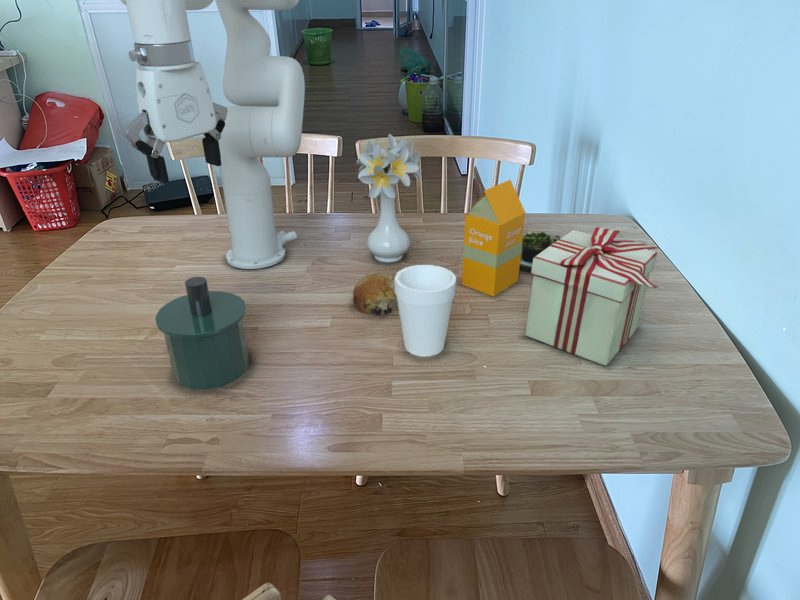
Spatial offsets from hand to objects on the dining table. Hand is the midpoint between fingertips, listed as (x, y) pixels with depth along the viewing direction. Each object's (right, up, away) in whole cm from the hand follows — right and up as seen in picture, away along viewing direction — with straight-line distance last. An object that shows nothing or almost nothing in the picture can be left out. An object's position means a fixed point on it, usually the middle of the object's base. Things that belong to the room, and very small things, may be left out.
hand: (188, 172), depth 94 cm
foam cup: (+37, -28, +5) cm, 47 cm away
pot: (+4, -31, 0) cm, 31 cm away
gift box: (+65, -26, +9) cm, 71 cm away
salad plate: (+63, -11, +36) cm, 74 cm away
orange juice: (+51, -17, +26) cm, 59 cm away
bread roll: (+29, -21, +18) cm, 40 cm away
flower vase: (+31, -11, +36) cm, 49 cm away
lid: (+4, -22, -5) cm, 23 cm away
